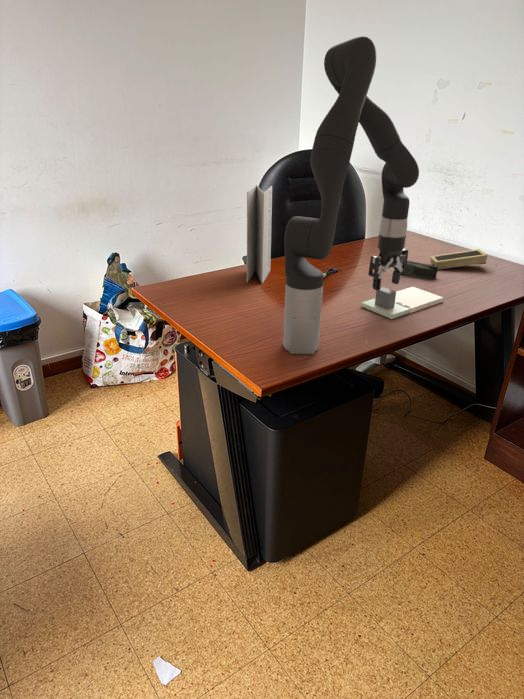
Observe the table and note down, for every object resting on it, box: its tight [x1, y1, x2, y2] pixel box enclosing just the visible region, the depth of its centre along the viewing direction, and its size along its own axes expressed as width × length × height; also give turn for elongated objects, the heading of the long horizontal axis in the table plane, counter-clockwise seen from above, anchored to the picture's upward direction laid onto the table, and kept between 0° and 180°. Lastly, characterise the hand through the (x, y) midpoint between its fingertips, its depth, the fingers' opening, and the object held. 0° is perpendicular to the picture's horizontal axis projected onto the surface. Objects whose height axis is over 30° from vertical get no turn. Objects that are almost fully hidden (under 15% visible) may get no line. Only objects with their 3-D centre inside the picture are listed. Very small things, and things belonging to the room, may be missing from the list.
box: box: [427, 248, 488, 271], centre depth 198 cm, size 8×22×5 cm, turn 91°
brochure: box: [246, 184, 273, 284], centre depth 179 cm, size 14×6×30 cm, turn 168°
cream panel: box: [395, 286, 444, 314], centre depth 166 cm, size 16×12×2 cm
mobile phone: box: [400, 260, 439, 280], centre depth 188 cm, size 5×3×15 cm
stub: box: [360, 286, 410, 320], centre depth 158 cm, size 8×12×6 cm, turn 37°
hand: (385, 286), depth 157 cm, fingers open, 8 cm apart
